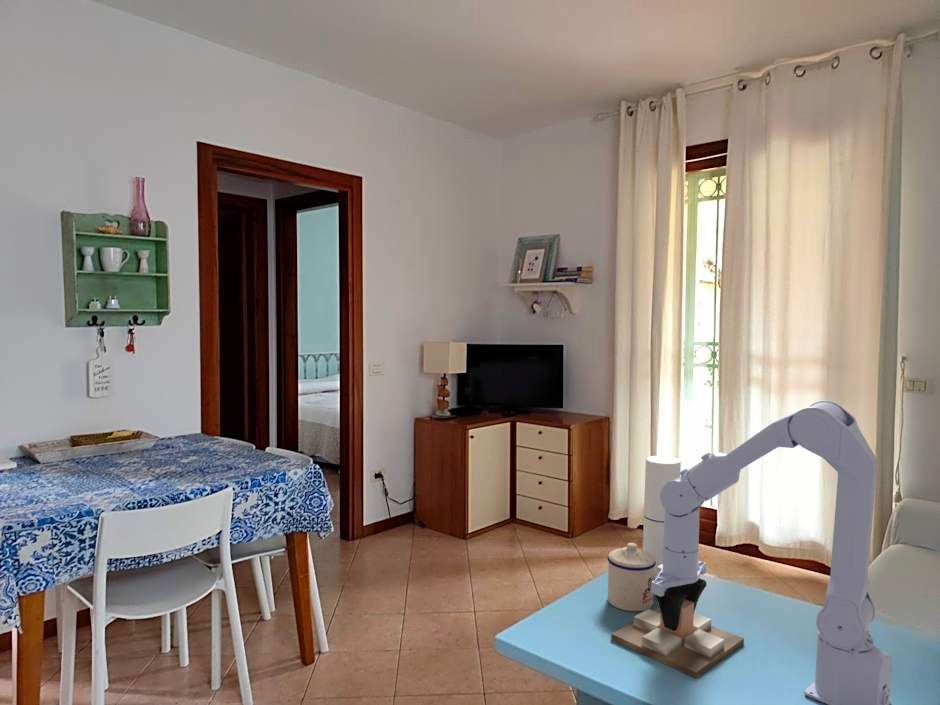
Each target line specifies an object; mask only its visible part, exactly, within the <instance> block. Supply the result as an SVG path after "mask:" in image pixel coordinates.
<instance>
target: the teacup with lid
mask: <svg viewBox="0 0 940 705" xmlns="http://www.w3.org/2000/svg"><path fill="white" fill-rule="evenodd" d="M608 553H609V554H608V556H607V562H608V571H607V572H608V574H607V575H608V576H607V578H608V579H607V600H608V603H610V604H611V605H612V606H613V607H615V608H617V609H619V610H622V611H626V612H644V611H646V610H648V609H651V607H652V606H653V605H654V594H652V593H651V582H652V581H654V566H655V564H656V562H655V559H654V557H653V556H652V555H651V554H649V553H647V552H645V551H643V549H640V548H638V545H637V544H636V543H635V542H629V543H627V544H626V546H624V547H622V548H617V549H616V548H615V549H613V550H611V551H610V552H608ZM652 608H653V607H652Z"/></svg>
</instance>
